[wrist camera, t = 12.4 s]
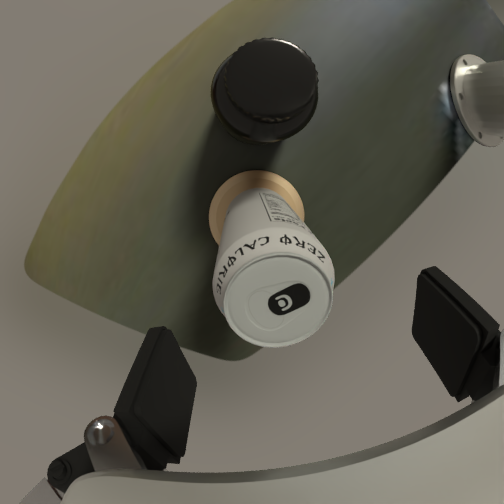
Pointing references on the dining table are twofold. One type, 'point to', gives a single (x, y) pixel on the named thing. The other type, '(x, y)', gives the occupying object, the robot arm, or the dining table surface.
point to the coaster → (244, 183)
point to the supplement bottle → (265, 91)
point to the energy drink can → (271, 272)
